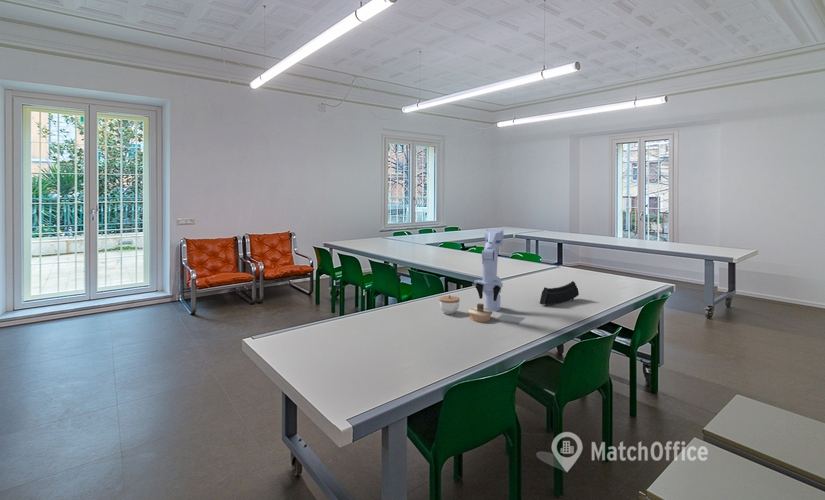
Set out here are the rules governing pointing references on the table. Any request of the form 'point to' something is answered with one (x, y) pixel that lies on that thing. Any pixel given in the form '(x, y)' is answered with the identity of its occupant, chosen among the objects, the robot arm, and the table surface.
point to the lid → (480, 311)
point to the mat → (509, 319)
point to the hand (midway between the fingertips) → (487, 299)
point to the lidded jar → (449, 304)
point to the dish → (479, 318)
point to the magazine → (559, 294)
